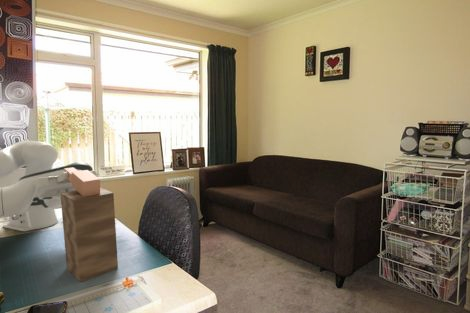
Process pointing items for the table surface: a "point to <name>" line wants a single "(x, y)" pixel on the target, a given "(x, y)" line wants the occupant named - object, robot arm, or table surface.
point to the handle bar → (83, 181)
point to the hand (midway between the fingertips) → (73, 173)
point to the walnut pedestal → (89, 233)
